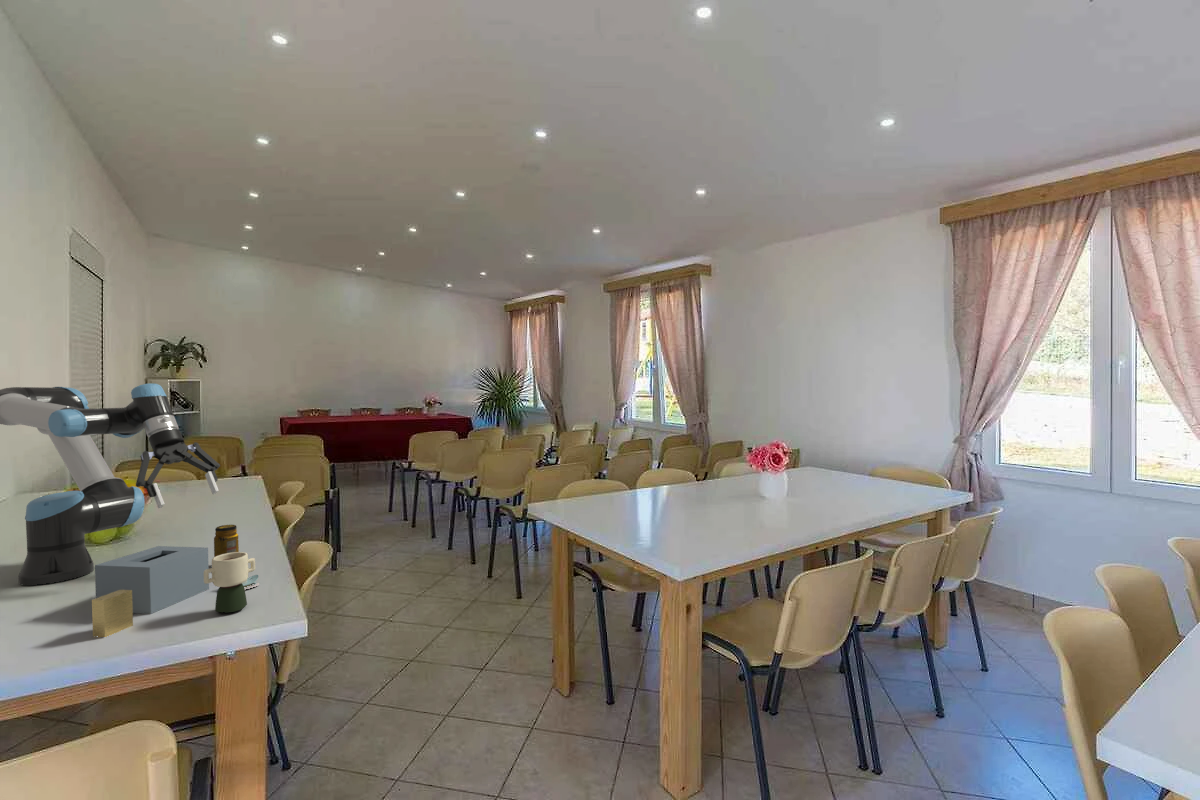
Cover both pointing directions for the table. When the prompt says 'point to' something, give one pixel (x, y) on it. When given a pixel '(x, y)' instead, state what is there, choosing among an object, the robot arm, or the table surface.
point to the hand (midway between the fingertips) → (189, 499)
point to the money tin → (155, 576)
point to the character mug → (230, 580)
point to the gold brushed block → (112, 613)
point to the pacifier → (250, 582)
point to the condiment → (225, 540)
